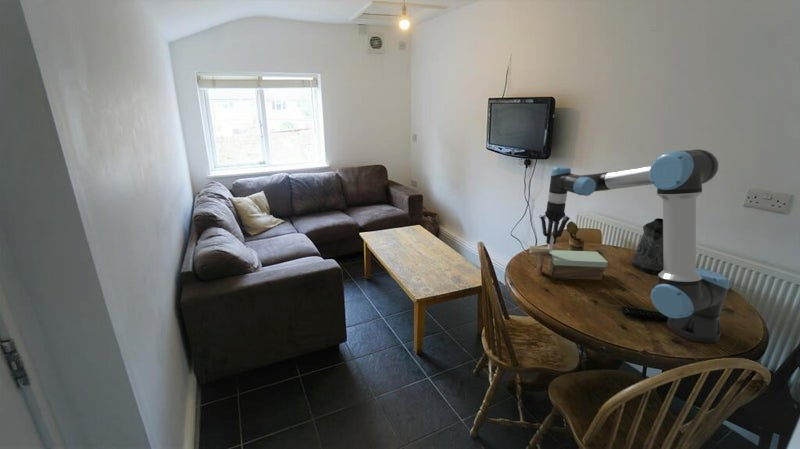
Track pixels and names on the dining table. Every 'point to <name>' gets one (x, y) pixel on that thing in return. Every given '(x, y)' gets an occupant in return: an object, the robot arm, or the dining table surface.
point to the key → (539, 250)
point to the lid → (577, 258)
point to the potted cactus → (574, 238)
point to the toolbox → (569, 270)
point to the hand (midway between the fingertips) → (549, 250)
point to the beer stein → (650, 249)
